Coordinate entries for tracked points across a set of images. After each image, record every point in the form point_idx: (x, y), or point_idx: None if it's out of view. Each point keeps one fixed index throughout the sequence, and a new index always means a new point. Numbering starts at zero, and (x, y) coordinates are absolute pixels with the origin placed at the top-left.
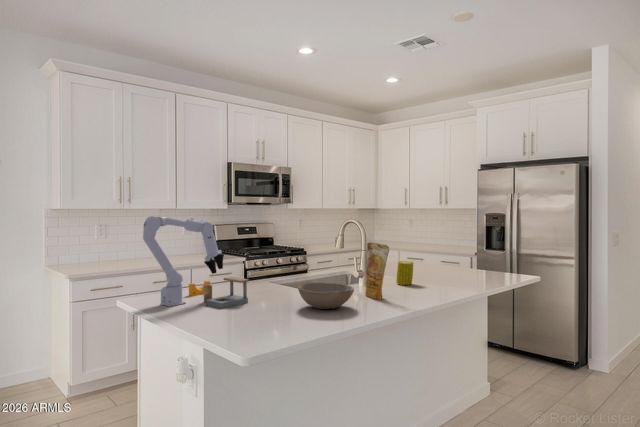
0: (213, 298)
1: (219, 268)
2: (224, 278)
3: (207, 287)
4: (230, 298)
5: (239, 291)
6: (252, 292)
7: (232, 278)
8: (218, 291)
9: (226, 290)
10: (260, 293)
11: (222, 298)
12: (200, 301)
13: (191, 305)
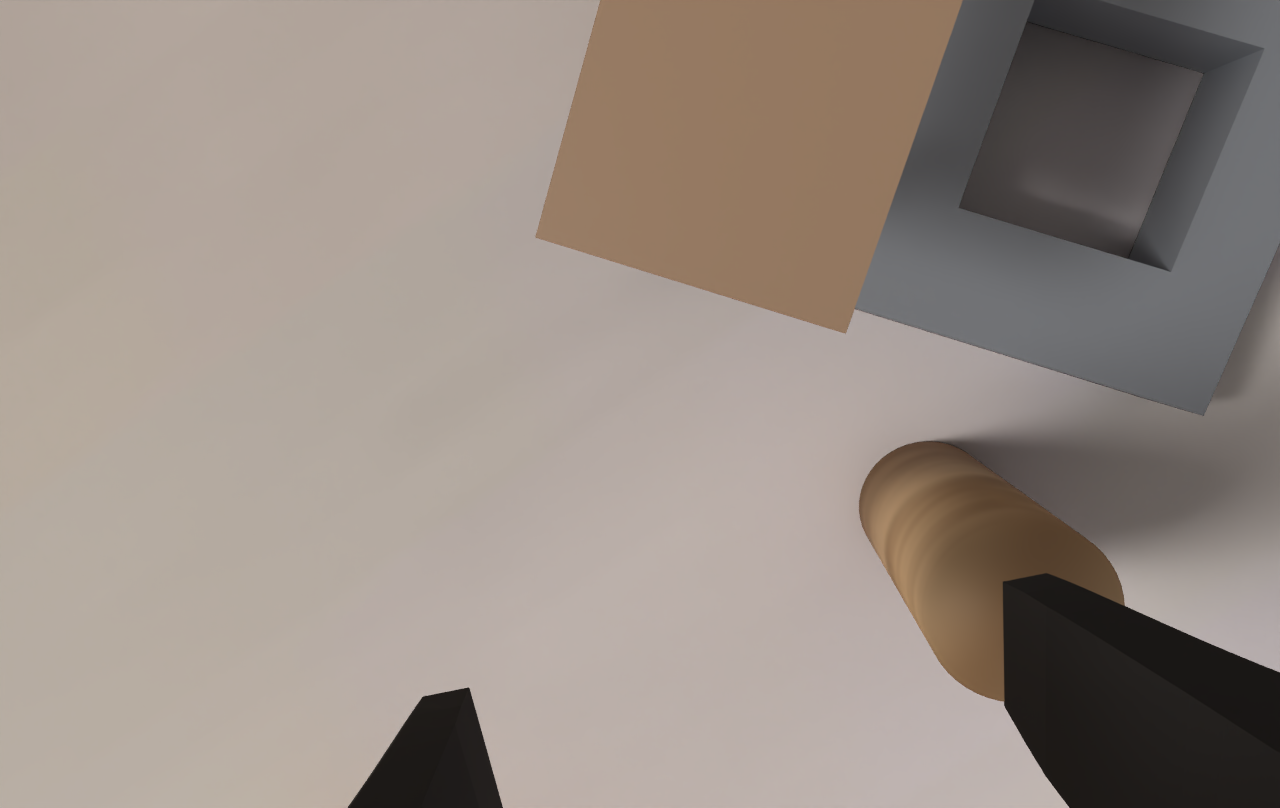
0: (1051, 353)
1: (492, 804)
2: (858, 287)
3: (1102, 564)
4: (948, 45)
5: (50, 493)
6: (13, 245)
7: (820, 4)
8: (202, 793)
9: (85, 723)
10: (14, 65)
11: (970, 212)
12: None
13: (1247, 593)
